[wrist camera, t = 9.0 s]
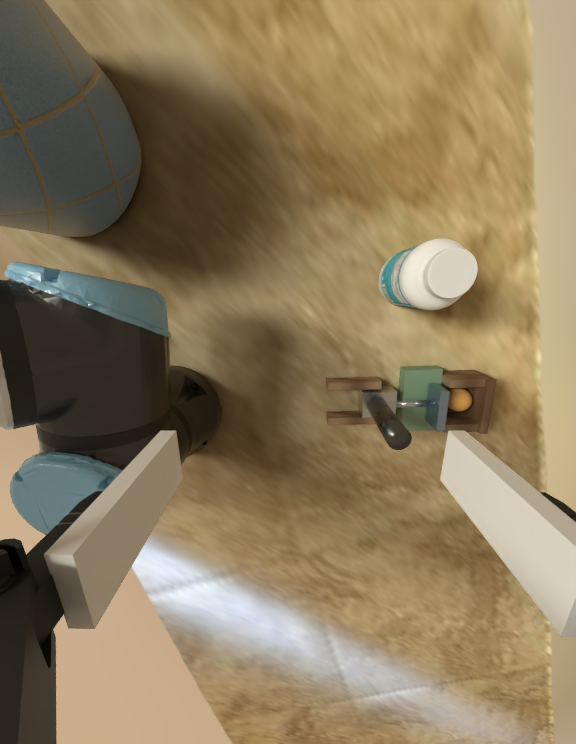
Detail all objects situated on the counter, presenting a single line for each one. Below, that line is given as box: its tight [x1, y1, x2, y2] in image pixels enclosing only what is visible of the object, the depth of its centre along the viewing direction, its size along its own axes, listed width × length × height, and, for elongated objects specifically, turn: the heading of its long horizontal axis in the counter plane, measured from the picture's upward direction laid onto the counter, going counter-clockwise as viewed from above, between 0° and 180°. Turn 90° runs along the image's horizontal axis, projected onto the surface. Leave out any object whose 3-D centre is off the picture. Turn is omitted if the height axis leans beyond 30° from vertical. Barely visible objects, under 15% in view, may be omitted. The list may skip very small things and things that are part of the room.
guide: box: [326, 377, 382, 425], centre depth 44 cm, size 8×7×2 cm
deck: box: [397, 366, 443, 431], centre depth 44 cm, size 6×10×2 cm, turn 3°
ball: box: [448, 388, 472, 411], centre depth 43 cm, size 4×4×4 cm
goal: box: [442, 370, 496, 434], centre depth 42 cm, size 6×8×5 cm
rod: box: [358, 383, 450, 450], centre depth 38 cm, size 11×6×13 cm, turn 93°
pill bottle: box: [379, 238, 478, 310], centre depth 33 cm, size 8×7×14 cm
